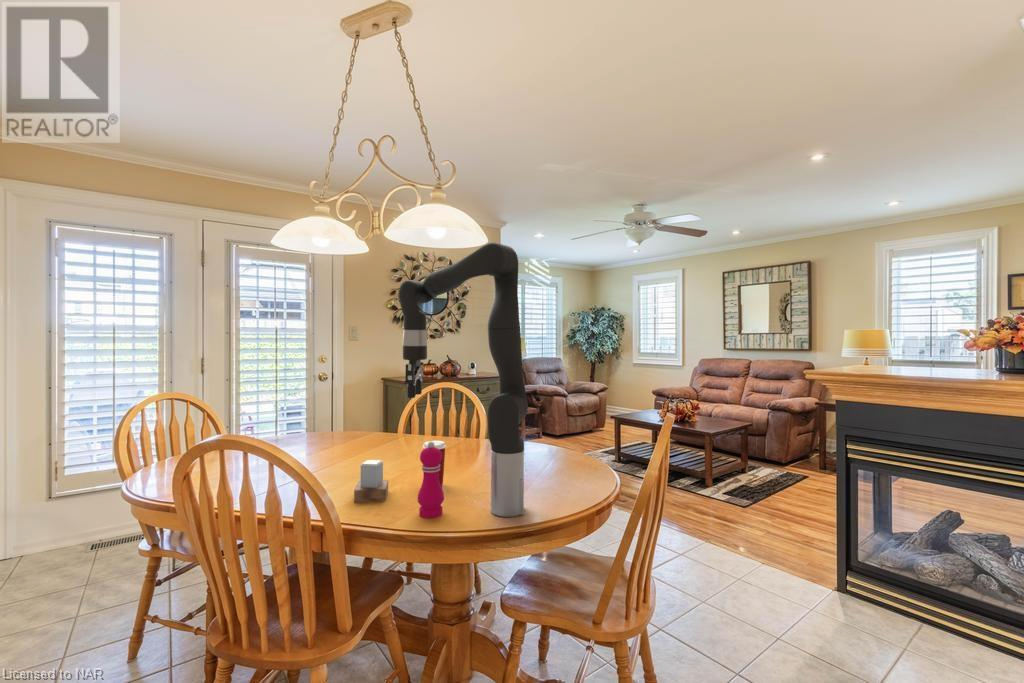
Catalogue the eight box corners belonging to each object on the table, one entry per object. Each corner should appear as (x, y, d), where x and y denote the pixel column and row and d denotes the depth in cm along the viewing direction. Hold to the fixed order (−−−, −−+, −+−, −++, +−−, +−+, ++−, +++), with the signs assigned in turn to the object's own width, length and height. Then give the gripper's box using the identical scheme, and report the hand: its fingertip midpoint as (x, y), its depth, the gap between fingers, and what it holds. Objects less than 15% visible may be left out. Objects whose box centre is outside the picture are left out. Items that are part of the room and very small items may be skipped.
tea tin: (382, 482, 150) (382, 460, 150) (376, 487, 145) (376, 464, 145) (367, 482, 151) (367, 459, 150) (360, 487, 146) (360, 463, 145)
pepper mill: (412, 513, 134) (412, 441, 134) (434, 507, 139) (434, 437, 139) (427, 521, 129) (427, 446, 128) (449, 514, 134) (449, 441, 134)
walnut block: (388, 492, 153) (388, 479, 153) (385, 502, 144) (385, 488, 144) (358, 493, 152) (358, 481, 151) (354, 503, 143) (354, 490, 143)
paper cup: (449, 482, 162) (449, 441, 161) (440, 490, 154) (440, 446, 154) (428, 480, 164) (428, 439, 164) (417, 487, 156) (417, 444, 156)
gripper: (421, 345, 145) (421, 399, 145) (431, 344, 159) (431, 393, 160) (397, 345, 145) (396, 398, 146) (408, 343, 160) (408, 393, 160)
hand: (414, 395), depth 153 cm, fingers open, 8 cm apart
